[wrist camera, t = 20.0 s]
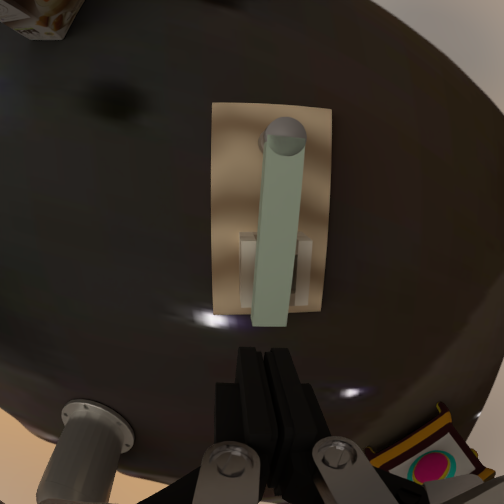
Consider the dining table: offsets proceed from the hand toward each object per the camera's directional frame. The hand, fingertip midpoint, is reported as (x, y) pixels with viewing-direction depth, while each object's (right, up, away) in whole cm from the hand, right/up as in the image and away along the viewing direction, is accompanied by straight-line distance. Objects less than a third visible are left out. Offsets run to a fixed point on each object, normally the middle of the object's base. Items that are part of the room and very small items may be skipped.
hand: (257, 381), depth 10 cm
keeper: (+2, +7, +16) cm, 17 cm away
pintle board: (+2, +9, +22) cm, 24 cm away
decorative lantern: (+32, -34, +37) cm, 60 cm away
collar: (+2, +3, +22) cm, 22 cm away
